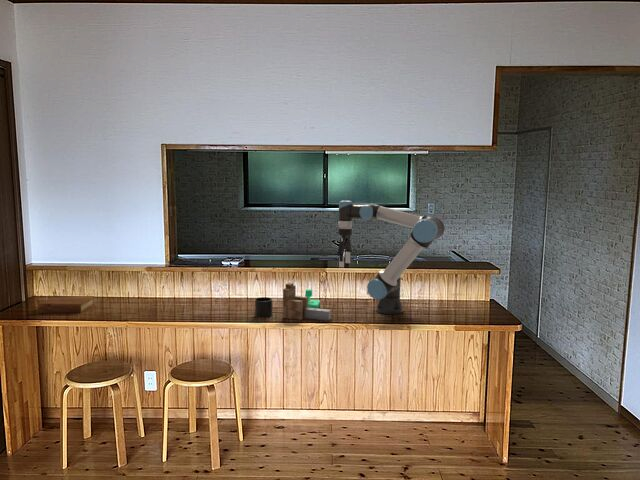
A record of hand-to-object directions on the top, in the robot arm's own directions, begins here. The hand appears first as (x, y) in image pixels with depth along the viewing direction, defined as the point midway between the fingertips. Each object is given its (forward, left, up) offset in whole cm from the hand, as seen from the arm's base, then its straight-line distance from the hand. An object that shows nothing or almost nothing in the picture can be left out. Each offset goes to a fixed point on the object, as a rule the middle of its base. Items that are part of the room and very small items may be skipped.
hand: (344, 265), depth 289 cm
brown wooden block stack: (+22, +20, -27) cm, 40 cm away
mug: (+40, +23, -27) cm, 53 cm away
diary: (+152, +50, -27) cm, 162 cm away
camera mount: (+20, -3, -27) cm, 34 cm away
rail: (+12, +20, -27) cm, 36 cm away
